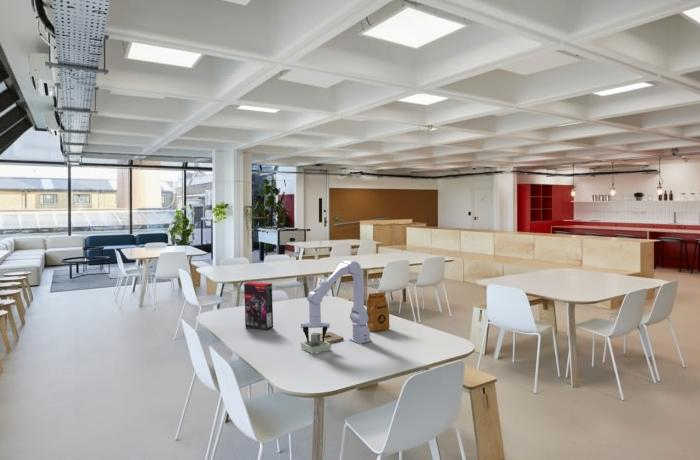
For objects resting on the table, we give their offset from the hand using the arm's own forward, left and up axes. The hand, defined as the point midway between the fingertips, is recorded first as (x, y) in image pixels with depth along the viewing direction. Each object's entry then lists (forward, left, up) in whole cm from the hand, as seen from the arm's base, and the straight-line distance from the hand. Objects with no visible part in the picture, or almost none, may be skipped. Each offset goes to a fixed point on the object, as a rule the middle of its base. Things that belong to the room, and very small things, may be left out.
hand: (315, 341), depth 219 cm
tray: (0, 0, -4) cm, 4 cm away
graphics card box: (+54, +8, -4) cm, 55 cm away
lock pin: (0, 0, -3) cm, 3 cm away
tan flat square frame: (+10, -13, -4) cm, 17 cm away
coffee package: (+7, -46, -4) cm, 47 cm away
